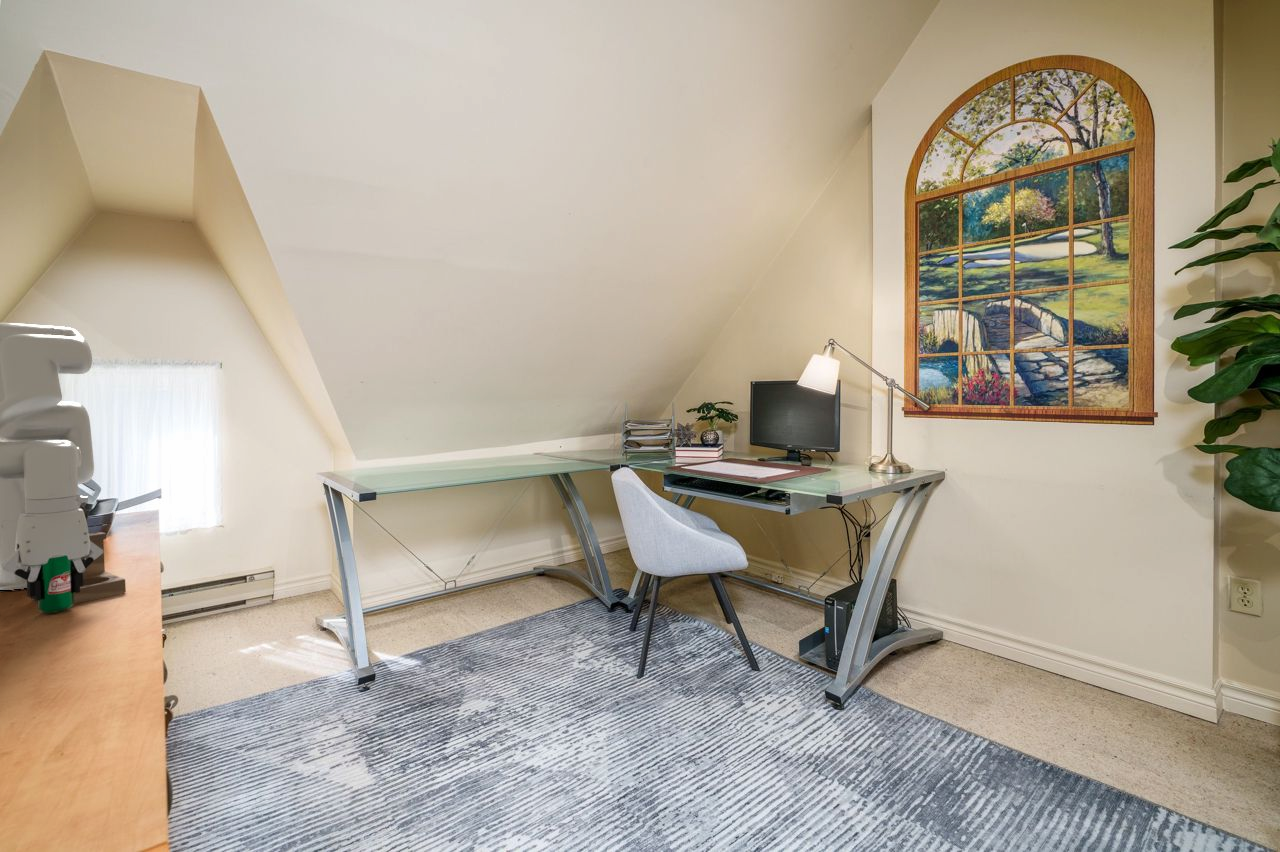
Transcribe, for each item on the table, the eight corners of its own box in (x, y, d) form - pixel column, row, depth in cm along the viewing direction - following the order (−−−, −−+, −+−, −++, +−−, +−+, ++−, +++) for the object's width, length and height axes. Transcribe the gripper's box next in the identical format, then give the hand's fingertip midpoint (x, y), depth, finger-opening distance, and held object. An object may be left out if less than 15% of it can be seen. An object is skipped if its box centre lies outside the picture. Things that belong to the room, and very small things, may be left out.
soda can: (51, 614, 115) (49, 554, 115) (31, 612, 116) (29, 552, 116) (80, 605, 120) (78, 547, 120) (61, 603, 121) (59, 546, 121)
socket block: (40, 595, 128) (37, 541, 128) (102, 583, 137) (100, 531, 137) (61, 606, 121) (58, 548, 121) (125, 592, 130) (123, 538, 130)
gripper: (101, 497, 126) (104, 581, 127) (-16, 510, 112) (-12, 604, 113) (114, 501, 122) (117, 587, 123) (-5, 515, 108) (-1, 612, 109)
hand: (56, 594), depth 118 cm, fingers closed on soda can, 5 cm apart
